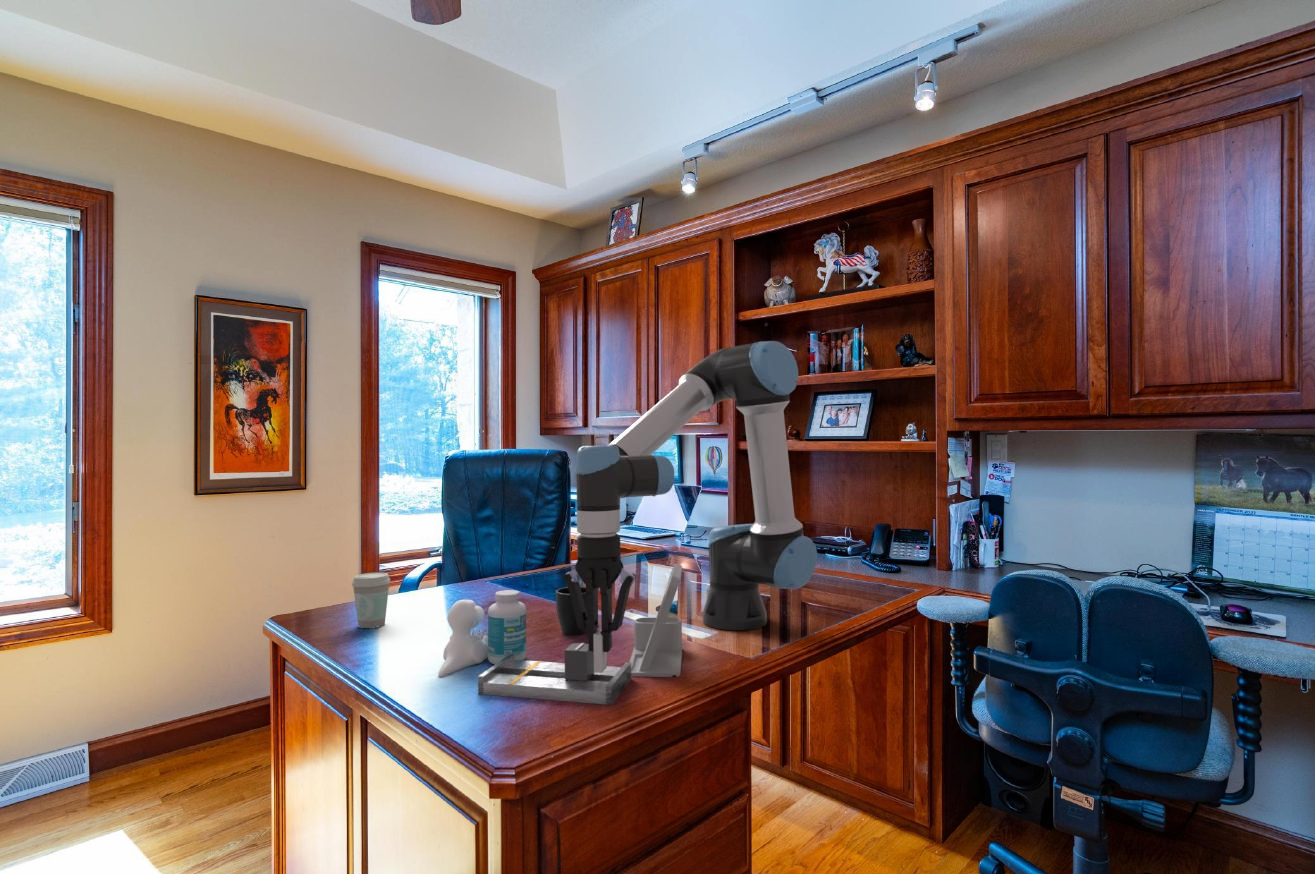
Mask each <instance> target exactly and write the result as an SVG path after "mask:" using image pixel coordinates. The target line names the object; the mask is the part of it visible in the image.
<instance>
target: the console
mask: <svg viewBox="0 0 1315 874" xmlns="http://www.w3.org/2000/svg"><path fill="white" fill-rule="evenodd" d="M631 680H632V676H631V662H630V661H625V663H624V664H623V665H621V666H612V665H611V666H610V665H609V666H608V665H607V668H606V669H605V670H604V671H603V672H602V673H598V672H594V674H593V675H592V676H591V677H590V680H587V681H582V680H569V679H565V662H554V661H541V660H525V659H524V660H515V654H509V655H508V656H506V657H505V658H504V659H502V660H501V661H499V662H498V663H496V664H493V665H492V666H491V667H488V669H486V670H485V671H483V672H482V673H481V674H479V675H478V676H477V686H478V687H477V688H478V689H477V693H478V695H488V696H499V697H500V696H502V697H511V698H513V697H514V698H524V699H535V700H545V701H546V700H547V701H548V700H549V701H558V702H559V701H560V702H573V703H583V704H585V703H586V704H593V705H594V704H597V705H607V706H612V705H613V703H614V702H615V701H616V700H617V699H618V698H619V696H620V695H621V694H622V692H623V691H624V690H625V688H626V687H627V686H628V684H629V683H630V681H631Z"/></svg>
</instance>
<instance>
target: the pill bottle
mask: <svg viewBox="0 0 1315 874" xmlns="http://www.w3.org/2000/svg"><path fill="white" fill-rule="evenodd" d="M494 599H495V601H496V602H494V603H492V604H491V605H490V606H489V608H488V611H487V632H488V634H487V635H488V656H487V660H488V662H489V663H491V664H493V665H495V664H496V663H498V662H499V661H501V660H502V659H504V658H505V657H506V656H508V655H509V654H515V660H525V659H526V657H527V606H526V604H525V603H523V602H521V601H519V599H520V591H518V590H515V589H507V590H506V589H505V590H499V591H496V592H495V593H494Z"/></svg>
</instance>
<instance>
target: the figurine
mask: <svg viewBox="0 0 1315 874" xmlns="http://www.w3.org/2000/svg"><path fill="white" fill-rule="evenodd" d="M484 617H485V610H484V608H482V607H481V606H480V605H477V604H476V603H475V601H473V600H472V599H460V600H457V601H455V602H454V603H453V605H452V606H451V607H450V609H449V611H448V613H447V618H446V620H447V622H448V625H449V627H450V629H451V630H452V634H451V635H450V637H449V640H448V642H447V644H446V646H445V647H444V650H443V660H444V661H443V663H442V665H441V667H440V669H439V670H438V674H437V675H438V677H439V678H441V677H442V678H443V677H445V676H448V675H450V674H453V673H456V672H458V671H460V670H462V669H464V668H467V667H470V666H473V665H477V664H481V663H482V662H483V661H484V660H486V659H488V631H487V628H485V629H484V630H483V629H482V628H481V629H479V630H478V629H476V631H475V628H477V627H478V625H480V623H481V622H482V621H483V619H484Z"/></svg>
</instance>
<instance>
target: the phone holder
mask: <svg viewBox="0 0 1315 874" xmlns="http://www.w3.org/2000/svg"><path fill="white" fill-rule="evenodd" d="M682 569H683V566H682V564H678V563H674V564H673V567H672V570H671V572H670V575H669V578H668V581H667V584H666V587H665V590H664V594H663V596H662V600H661V603H660V607H659V610H658V612H657V614H656V617H639V618H636V619H635V620H634V622H633V623H634V625H633V627H634V631H633V632H634V647H633V649H632V653H631V656H630V659H629V662H631V677H639V678H640V677H645V678H648V677H650V678H651V677H655V678H657V677H658V678H659V677H660V678H661V677H662V678H663V677H664V678H665V677H666V678H668V677H669V678H671V677H672V678H673V676H676V677H679V676H681V671H682V670H681V669H682V659H683V657H682V656H683V639H682V638H683V630H682V628H683V626H682V624H683V623H682V620H681V618H678V617H677V618H676V617H668V615H669V613H670V610H671V607H672V605H673V602H674V599H675V596H676V593H677V590H678V588H679V584H680V582H681V581H680V580H681V577H682V571H683V570H682Z"/></svg>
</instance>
